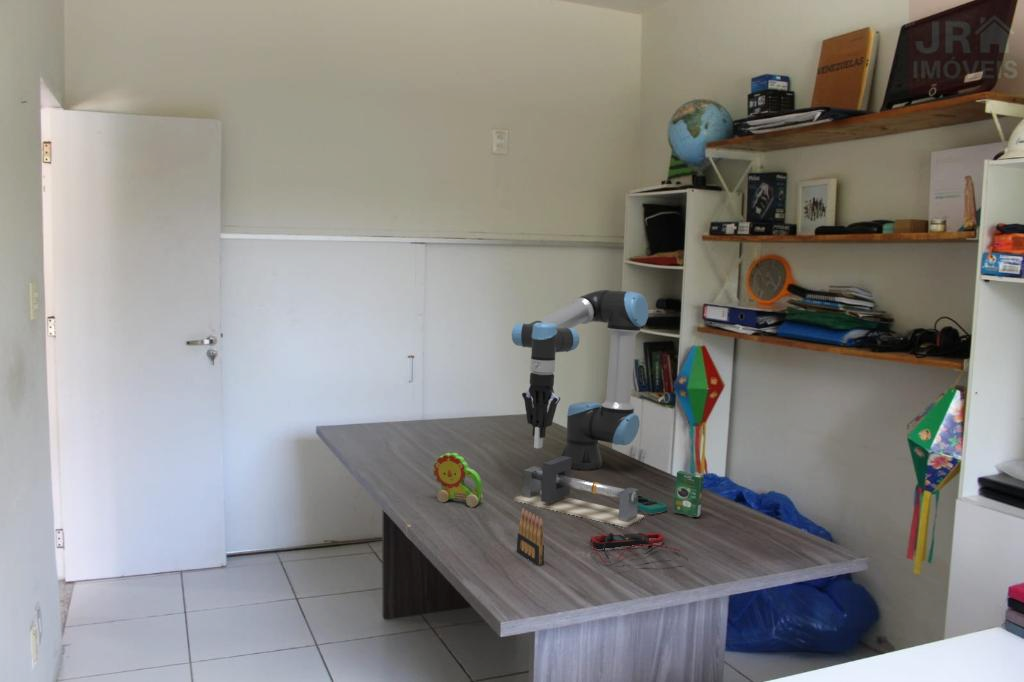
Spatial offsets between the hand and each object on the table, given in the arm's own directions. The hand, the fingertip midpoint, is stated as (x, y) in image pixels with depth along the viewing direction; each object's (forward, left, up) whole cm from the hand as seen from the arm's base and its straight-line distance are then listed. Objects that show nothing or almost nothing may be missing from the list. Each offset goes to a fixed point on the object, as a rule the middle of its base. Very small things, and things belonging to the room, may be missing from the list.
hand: (538, 447), depth 265 cm
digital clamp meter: (+23, +46, -18) cm, 54 cm away
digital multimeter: (-16, +29, -18) cm, 38 cm away
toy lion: (+19, -17, -17) cm, 31 cm away
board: (0, +15, -17) cm, 23 cm away
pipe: (0, +15, -17) cm, 23 cm away
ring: (0, +7, -15) cm, 16 cm away
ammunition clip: (+43, +26, -17) cm, 53 cm away
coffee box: (-18, +43, -17) cm, 50 cm away
